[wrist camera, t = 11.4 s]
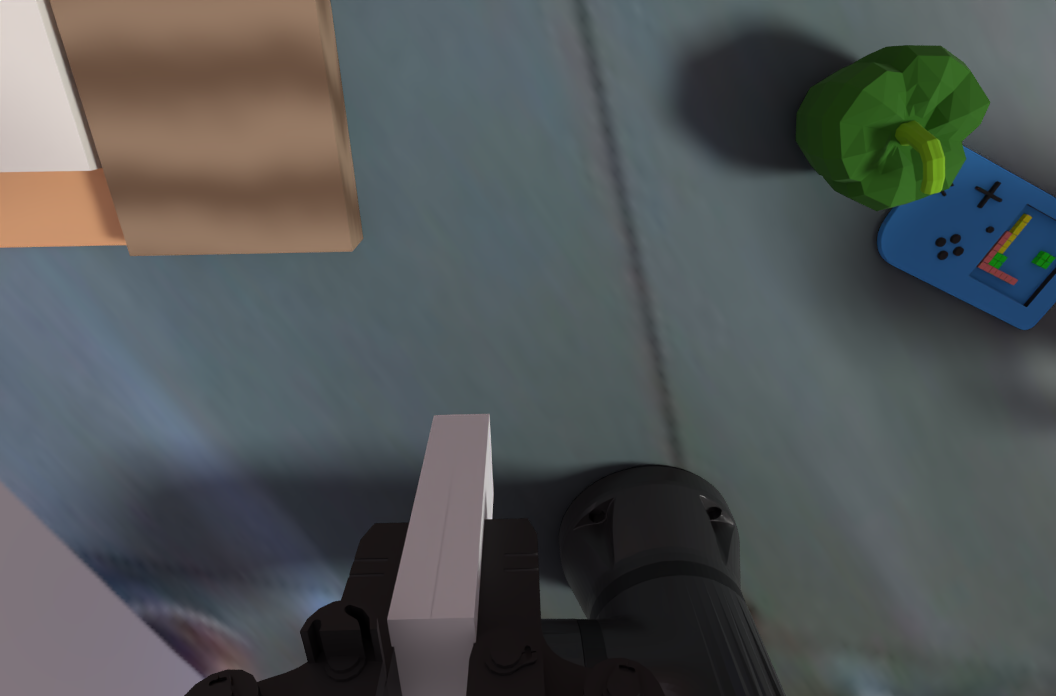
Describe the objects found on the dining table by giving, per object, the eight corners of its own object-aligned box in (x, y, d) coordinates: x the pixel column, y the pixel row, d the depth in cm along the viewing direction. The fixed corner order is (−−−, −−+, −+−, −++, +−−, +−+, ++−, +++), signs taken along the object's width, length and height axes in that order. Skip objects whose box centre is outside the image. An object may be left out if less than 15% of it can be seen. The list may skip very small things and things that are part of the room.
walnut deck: (363, 238, 41) (352, 251, 38) (155, 242, 41) (130, 256, 38) (312, -129, 32) (293, -146, 29) (48, -125, 32) (4, -142, 29)
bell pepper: (799, 36, 36) (893, 29, 27) (928, 56, 37) (1063, 57, 28) (756, 178, 40) (827, 214, 31) (875, 195, 40) (979, 235, 31)
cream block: (116, 164, 38) (90, 170, 36) (20, 165, 38) (-11, 172, 36) (60, -21, 34) (27, -26, 31) (-48, -20, 34) (-89, -25, 31)
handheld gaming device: (951, 137, 38) (1122, 233, 41) (940, 135, 39) (1107, 229, 42) (867, 253, 41) (1031, 335, 44) (859, 248, 42) (1020, 329, 45)
